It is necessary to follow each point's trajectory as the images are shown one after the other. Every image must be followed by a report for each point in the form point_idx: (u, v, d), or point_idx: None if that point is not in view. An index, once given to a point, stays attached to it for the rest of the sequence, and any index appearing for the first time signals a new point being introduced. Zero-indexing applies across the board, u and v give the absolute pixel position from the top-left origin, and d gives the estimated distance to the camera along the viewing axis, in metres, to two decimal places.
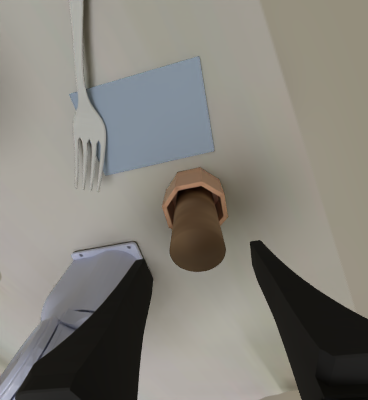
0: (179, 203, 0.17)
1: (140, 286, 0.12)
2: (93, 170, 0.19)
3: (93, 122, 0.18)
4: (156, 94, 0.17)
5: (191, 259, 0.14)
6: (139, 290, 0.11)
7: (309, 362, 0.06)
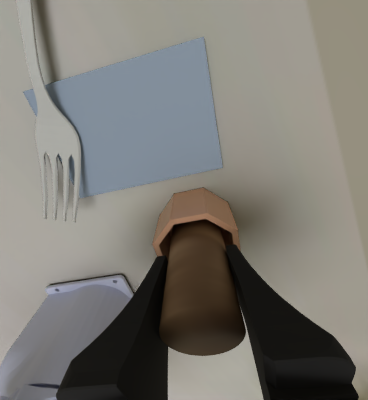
0: (175, 242, 0.13)
1: (164, 283, 0.11)
2: (66, 194, 0.14)
3: (62, 131, 0.13)
4: (144, 92, 0.12)
5: (192, 342, 0.09)
6: (163, 287, 0.11)
7: (261, 366, 0.06)
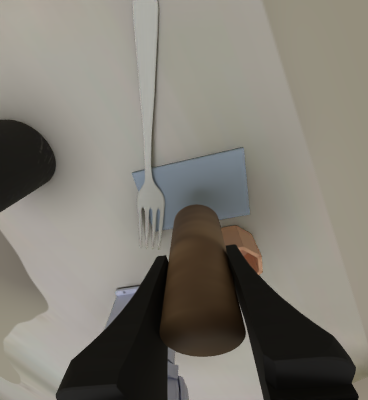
0: (175, 244, 0.13)
1: (164, 283, 0.11)
2: (154, 232, 0.23)
3: (155, 195, 0.21)
4: (205, 174, 0.21)
5: (193, 343, 0.09)
6: (163, 287, 0.11)
7: (261, 366, 0.06)
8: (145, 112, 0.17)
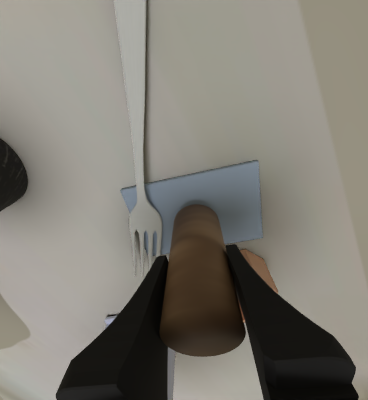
0: (175, 244, 0.13)
1: (164, 283, 0.11)
2: (151, 258, 0.19)
3: (150, 216, 0.18)
4: (210, 192, 0.17)
5: (193, 343, 0.09)
6: (163, 287, 0.11)
7: (261, 366, 0.06)
8: (134, 117, 0.13)
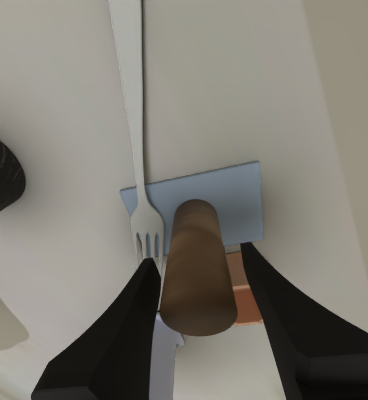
0: (174, 235, 0.14)
1: (149, 285, 0.12)
2: None
3: (152, 218, 0.18)
4: (210, 193, 0.17)
5: (190, 323, 0.10)
6: (148, 289, 0.11)
7: (290, 363, 0.06)
8: (132, 118, 0.13)
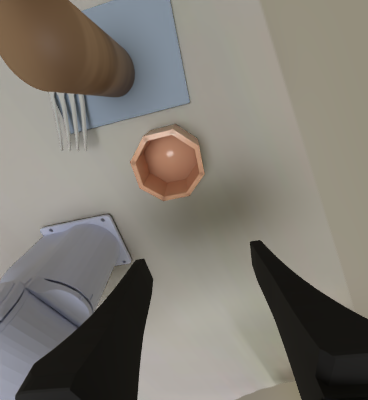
0: None
1: (140, 286, 0.12)
2: (76, 126, 0.17)
3: None
4: (121, 32, 0.15)
5: (35, 60, 0.09)
6: (139, 290, 0.11)
7: (309, 362, 0.06)
8: None
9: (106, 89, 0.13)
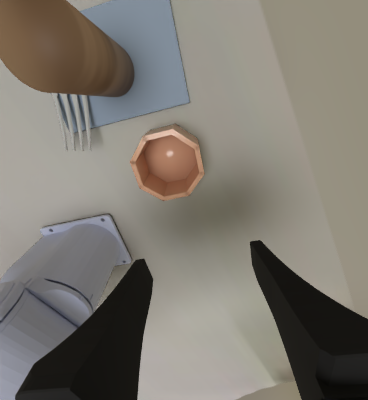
0: None
1: (140, 286, 0.12)
2: (80, 126, 0.17)
3: None
4: (120, 32, 0.15)
5: (34, 61, 0.09)
6: (139, 290, 0.11)
7: (309, 362, 0.06)
8: None
9: (105, 89, 0.13)
